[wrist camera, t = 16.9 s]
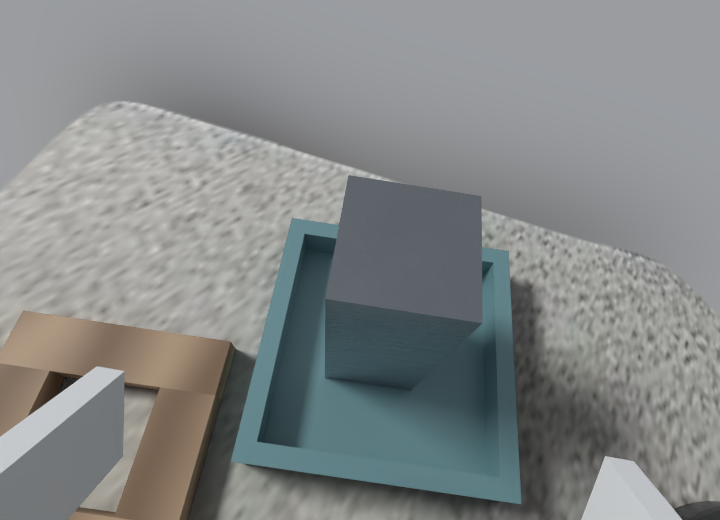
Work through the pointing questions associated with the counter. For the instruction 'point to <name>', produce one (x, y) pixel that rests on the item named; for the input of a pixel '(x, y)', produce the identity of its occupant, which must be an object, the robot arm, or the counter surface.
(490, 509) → the counter surface
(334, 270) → the grey rectangular block
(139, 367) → the socket plate
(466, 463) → the tray
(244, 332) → the counter surface
